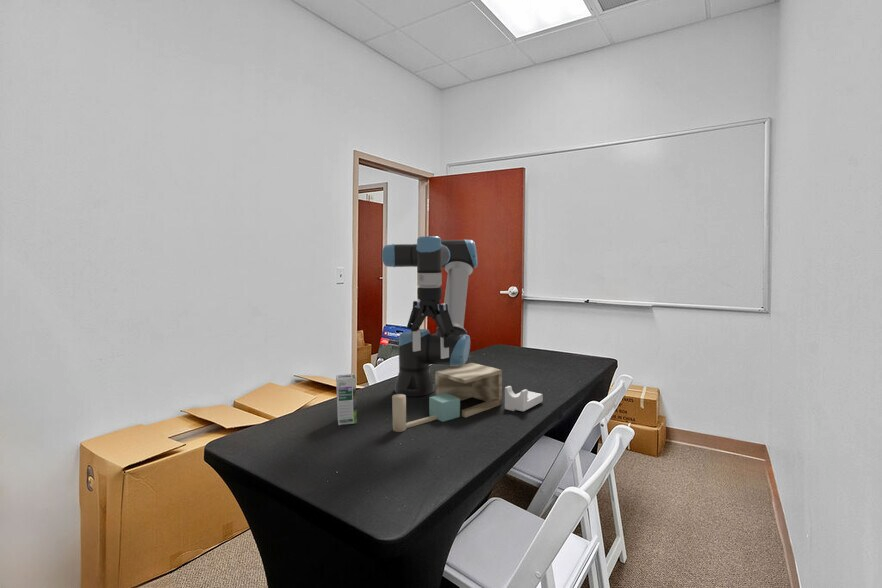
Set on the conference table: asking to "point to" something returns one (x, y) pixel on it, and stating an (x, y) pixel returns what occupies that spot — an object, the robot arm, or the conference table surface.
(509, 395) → the bracket
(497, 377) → the wooden frame
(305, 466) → the conference table surface
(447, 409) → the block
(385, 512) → the conference table surface
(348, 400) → the syrup box
